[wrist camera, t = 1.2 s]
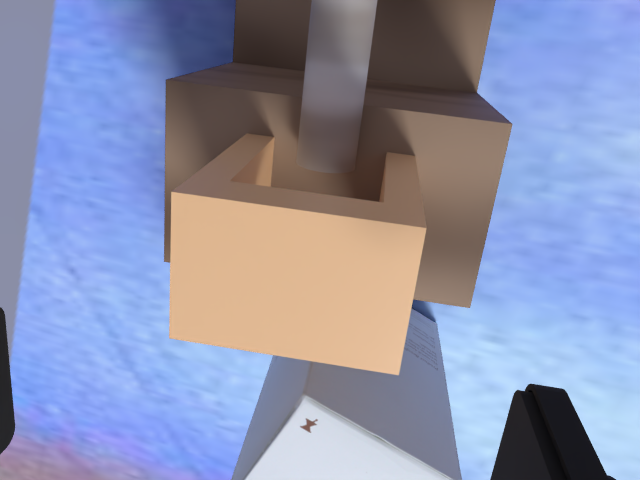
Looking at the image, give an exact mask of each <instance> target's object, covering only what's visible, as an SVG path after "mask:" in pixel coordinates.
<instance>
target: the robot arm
mask: <svg viewBox="0 0 640 480" xmlns="http://www.w3.org/2000/svg"><path fill="white" fill-rule="evenodd" d="M7 344H8V343H7V333H6V322H5V314H4V311H3V309H2V308H0V454H1V453H2V452H3V451H4V450H5V449H6V448H7V446H8V445H9V444H10V442H11V440H12V437H13V435H14V431H15V420H14V409H13V398H12V387H11V376H10V365H9V354H8V345H7ZM491 480H616V479H614V478H613V477H611V476H608V475H606V473H605V471H604V468H603V466H602V464H601V462H600V460H599V458H598V456H597V454H596V452H595V450H594V448H593V446H592V444H591V442H590V440H589V438H588V435H587V433H586V431H585V429H584V427H583V425H582V423H581V421H580V419H579V417H578V415H577V413H576V411H575V409H574V407H573V405H572V402H571V400H570V398H569V396H568V394H567V392H566V391H565V390H564V389H561V388H554V387H548V386H542V385H536V384H529V385H528V386H527V387H526V389H525V391H520V390H517V391H516V392H515V393H514V396H513V399H512V403H511V406H510V410H509V414H508V417H507V421H506V425H505V428H504V432H503V436H502V439H501V443H500V447H499V450H498V454H497V458H496V461H495V465H494V469H493V472H492V476H491Z"/></svg>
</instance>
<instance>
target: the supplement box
mask: <svg viewBox="0 0 640 480" xmlns="http://www.w3.org/2000/svg"><path fill="white" fill-rule="evenodd" d="M231 480H462V477H461V472H460V466H459V460H458V454H457V448H456V441H455V435H454V429H453V422H452V416H451V410H450V403H449V396H448V390H447V383H446V377H445V372H444V365H443V358H442V352H441V346H440V340H439V334H438V328H437V324H436V323H435V322H433V321H432V320H430V319H428V318H427V317H425V316H423V315H422V314H420V313H419V312H417V311H415V310H414V309H412V308H411V313H410V319H409V324H408V329H407V334H406V340H405V345H404V350H403V356H402V361H401V366H400V372H399V375H394V374H387V373H381V372H375V371H369V370H363V369H356V368H350V367H344V366H338V365H332V364H325V363H319V362H313V361H307V360H301V359H295V358H288V357H282V356H276V355H273V358H272V361H271V364H270V367H269V370H268V373H267V376H266V378H265V381H264V384H263V387H262V390H261V393H260V396H259V399H258V402H257V405H256V408H255V411H254V414H253V417H252V420H251V423H250V425H249V428H248V431H247V434H246V437H245V440H244V443H243V446H242V449H241V452H240V455H239V458H238V461H237V464H236V467H235V470H234V473H233V476H232V479H231Z"/></svg>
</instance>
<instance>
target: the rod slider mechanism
mask: <svg viewBox="0 0 640 480" xmlns="http://www.w3.org/2000/svg"><path fill="white" fill-rule="evenodd" d="M495 1H496V0H236V9H235V29H234V49H233V62H232V63H228V64H224V65H220V66H216V67H213V68H209V69H205V70H201V71H197V72H194V73H190V74H186V75H182V76H178V77H175V78H171V79H167V80H166V125H165V234H164V262H170V253H171V192H172V191H173V190H174V189H176V188H177V187H178V186H180V185H181V184H182V183H183V182H185V181H186V180H187V179H189V178H190V177H191V176H192V175H194V174H195V173H196V172H198V171H199V170H200V169H202V168H203V167H204V166H205V165H207V164H208V163H209V162H211V161H212V160H213V159H215V158H216V157H217V156H218V155H220V154H221V153H222V152H224V151H225V150H226V149H227V148H229V147H230V146H231V145H233V144H234V143H235V142H237V141H238V140H239V139H240V138H242V137H243V136H244V135H246V134H247V133H248V134H255V135H263V136H270V137H275V138H274V151H273V164H272V176H271V187H276V188H283V189H290V190H297V191H304V192H312V193H319V194H326V195H333V196H340V197H347V198H354V199H362V200H369V201H376V202H379V200H380V193H381V187H382V180H383V174H384V167H385V161H386V154H387V152H390V153H397V154H405V155H412V156H415V157H416V163H417V170H418V176H419V182H420V189H421V195H422V202H423V208H424V215H425V221H426V228H427V229H426V234H425V239H424V244H423V250H422V255H421V260H420V266H419V271H418V276H417V282H416V287H415V292H414V297H413V299H414V300H420V301H427V302H434V303H440V304H447V305H453V306H460V307H467V308H470V305H471V301H472V297H473V292H474V288H475V284H476V279H477V275H478V271H479V266H480V262H481V258H482V253H483V249H484V245H485V240H486V236H487V232H488V227H489V223H490V219H491V214H492V210H493V206H494V201H495V197H496V193H497V188H498V184H499V180H500V175H501V171H502V167H503V162H504V158H505V154H506V150H507V145H508V141H509V137H510V132H511V128H512V123H511V122H509V121H508V120H507V119H506V118H505V117H504V116H503V115H502V114H500V113H499V112H498V111H497V110H496V109H495V108H494V107H492V106H491V105H490V104H489V103H488V102H487V101H486V100H485V99H483V98H482V97H481V96H480V95H479V94H478V93H477V89H478V84H479V79H480V74H481V69H482V64H483V59H484V55H485V50H486V45H487V40H488V35H489V30H490V25H491V20H492V15H493V10H494V6H495Z"/></svg>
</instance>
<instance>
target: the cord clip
mask: <svg viewBox="0 0 640 480" xmlns="http://www.w3.org/2000/svg"><path fill="white" fill-rule="evenodd" d="M274 138H275V137H270V136H263V135H255V134H248V133H247V134H246V135H244V136H243V137H242V138H240V139H239V140H238V141H237V142H235V143H234V144H233V145H231V146H230V147H229V148H227V149H226V150H225V151H224V152H222V153H221V154H220V155H218V156H217V157H216V158H215V159H213V160H212V161H211V162H209V163H208V164H207V165H205V166H204V167H203V168H202V169H200V170H199V171H198V172H196V173H195V174H194V175H192V176H191V177H190V178H189V179H187V180H186V181H185V182H183V183H182V184H181V185H180V186H178V187H177V188H176V189H174V190H173V191H172V192H171V253H170V327H169V338H171V339H177V340H183V341H189V342H195V343H202V344H208V345H214V346H220V347H226V348H233V349H239V350H245V351H251V352H257V353H264V354H270V355H276V356H282V357H288V358H295V359H301V360H307V361H313V362H319V363H325V364H332V365H338V366H344V367H350V368H356V369H363V370H369V371H375V372H381V373H387V374H394V375H399V372H400V366H401V361H402V356H403V350H404V345H405V340H406V334H407V329H408V324H409V319H410V313H411V308H412V303H413V297H414V292H415V287H416V282H417V276H418V271H419V266H420V260H421V255H422V250H423V244H424V239H425V234H426V229H427V228H426V221H425V215H424V208H423V202H422V195H421V189H420V182H419V176H418V170H417V163H416V157H415V156H412V155H405V154H397V153H390V152H387V154H386V161H385V167H384V174H383V180H382V187H381V193H380V200H379V202H376V201H369V200H362V199H354V198H347V197H340V196H333V195H326V194H319V193H312V192H304V191H297V190H290V189H283V188H276V187H271V176H272V164H273V151H274Z"/></svg>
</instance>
